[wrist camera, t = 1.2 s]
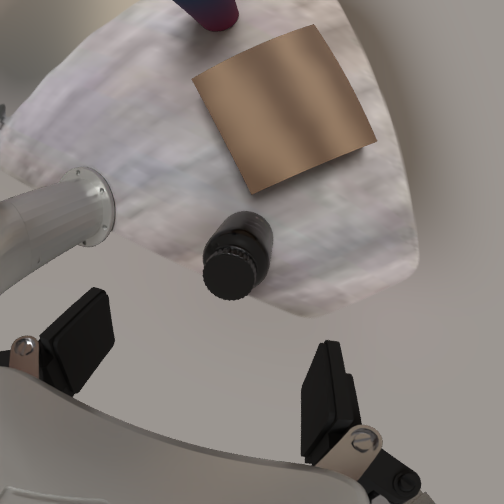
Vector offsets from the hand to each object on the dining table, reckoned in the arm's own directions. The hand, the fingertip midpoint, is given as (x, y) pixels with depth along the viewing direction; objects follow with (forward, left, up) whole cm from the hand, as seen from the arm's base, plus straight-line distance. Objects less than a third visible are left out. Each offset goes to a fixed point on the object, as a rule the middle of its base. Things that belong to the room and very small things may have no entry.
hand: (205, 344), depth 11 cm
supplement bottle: (-3, -2, -25) cm, 25 cm away
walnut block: (+8, +10, -25) cm, 28 cm away
